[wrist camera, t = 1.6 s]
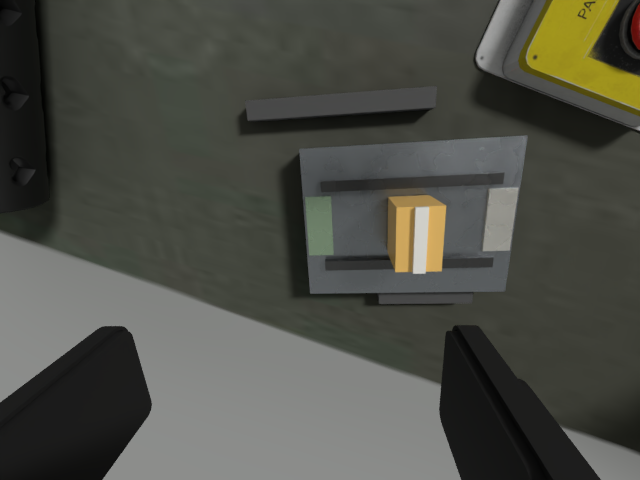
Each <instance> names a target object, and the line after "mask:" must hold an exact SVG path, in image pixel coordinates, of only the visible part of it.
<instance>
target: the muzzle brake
mask: <svg viewBox="0 0 640 480" xmlns="http://www.w3.org/2000/svg"><path fill="white" fill-rule="evenodd" d="M40 86H41V74H40V61H39V47H38V38H37V34H36V19H35V0H0V213H5V212H13V211H19V210H25V209H29V208H33V207H36V206H39V205H41V204H43V203H45V202H46V201H48V200H49V198H50V194H49V181H48V175H47V164H46V141H45V127H44V114H43V109H42V102H41V99H42V97H41V90H40Z"/></svg>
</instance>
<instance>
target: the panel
mask: <svg viewBox="0 0 640 480" xmlns="http://www.w3.org/2000/svg"><path fill="white" fill-rule="evenodd" d="M527 137H528V135H527V136H506V137H489V138H472V139H456V140H439V141H422V142H405V143H388V144H371V145H355V146H338V147H321V148H304V149H299V152H300V166H301V179H302V192H303V206H304V219H305V232H306V246H307V259H308V272H309V286H310V294H325V293H409V292H493V291H505V288H506V281H507V274H508V267H509V260H510V253H511V247H512V240H513V233H514V226H515V219H516V212H517V205H518V198H519V192H520V185H521V178H522V171H523V164H524V157H525V150H526V143H527ZM418 195H430V196H432V197H433V198H435V199H436V200H438V201H440V202H441V203H443V204H445V205H446V218H445V232H444V245H443V259H442V271H437V272H426V274H413V273H412V272H395V270H394V268H393V265H392V262H391V260H390V257H389V255H388V252H387V241H388V197H394V196H418Z"/></svg>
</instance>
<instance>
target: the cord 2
mask: <svg viewBox="0 0 640 480" xmlns="http://www.w3.org/2000/svg"><path fill="white" fill-rule="evenodd" d="M377 297H378V302H379V304H440V303H472V298H473V292H409V293H377Z"/></svg>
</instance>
